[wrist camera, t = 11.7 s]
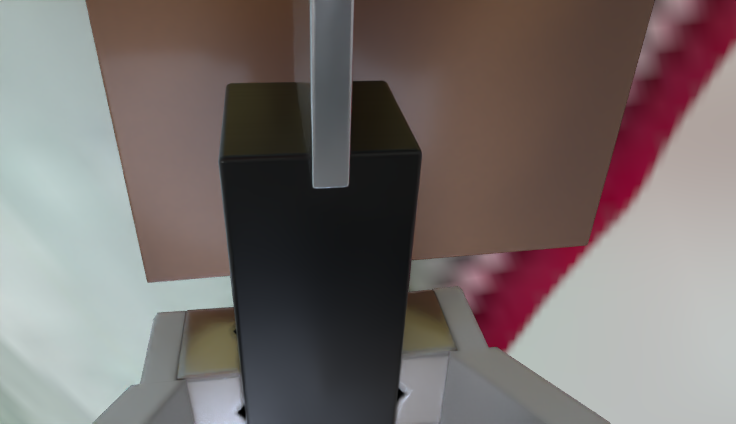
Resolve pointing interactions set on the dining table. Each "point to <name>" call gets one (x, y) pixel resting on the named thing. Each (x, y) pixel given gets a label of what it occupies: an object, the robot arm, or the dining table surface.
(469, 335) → the robot arm
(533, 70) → the cutting board
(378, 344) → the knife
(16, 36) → the dining table surface
